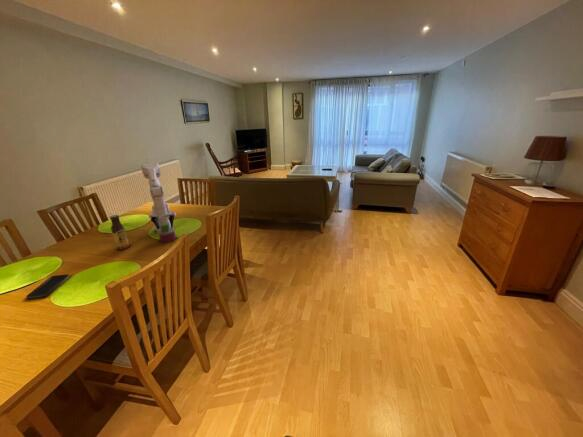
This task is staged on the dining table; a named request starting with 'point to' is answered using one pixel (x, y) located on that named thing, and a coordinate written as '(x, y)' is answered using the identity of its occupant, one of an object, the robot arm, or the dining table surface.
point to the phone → (47, 287)
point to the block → (165, 227)
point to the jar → (167, 235)
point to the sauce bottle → (119, 233)
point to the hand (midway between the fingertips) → (165, 227)
